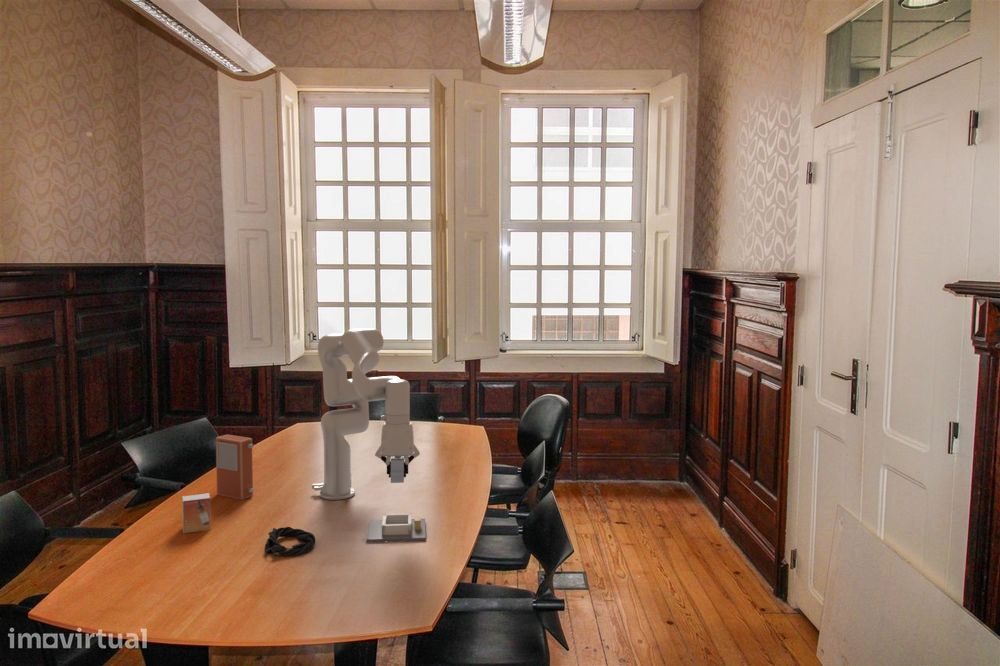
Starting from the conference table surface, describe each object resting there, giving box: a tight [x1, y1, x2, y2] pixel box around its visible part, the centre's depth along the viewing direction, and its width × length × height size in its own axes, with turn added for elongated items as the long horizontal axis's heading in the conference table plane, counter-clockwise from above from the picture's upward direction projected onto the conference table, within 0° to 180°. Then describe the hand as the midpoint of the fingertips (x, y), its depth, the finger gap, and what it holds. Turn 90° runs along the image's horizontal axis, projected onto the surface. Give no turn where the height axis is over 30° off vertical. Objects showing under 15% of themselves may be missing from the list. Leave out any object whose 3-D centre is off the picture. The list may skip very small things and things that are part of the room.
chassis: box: [365, 512, 427, 543], centre depth 209 cm, size 18×16×4 cm
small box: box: [181, 492, 212, 534], centre depth 208 cm, size 8×6×10 cm
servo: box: [390, 456, 405, 484], centre depth 207 cm, size 4×10×7 cm, turn 7°
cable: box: [264, 526, 316, 558], centre depth 197 cm, size 17×14×4 cm
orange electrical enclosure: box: [215, 434, 255, 500], centre depth 240 cm, size 21×7×15 cm
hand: (397, 475), depth 208 cm, fingers closed on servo, 4 cm apart
